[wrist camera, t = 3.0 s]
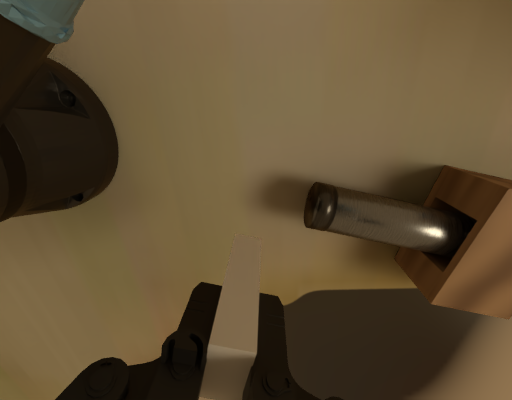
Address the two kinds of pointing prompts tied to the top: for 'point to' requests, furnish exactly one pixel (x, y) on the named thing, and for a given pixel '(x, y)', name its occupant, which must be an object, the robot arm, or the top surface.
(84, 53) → the top surface
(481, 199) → the sleeve
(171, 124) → the top surface
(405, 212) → the tube
